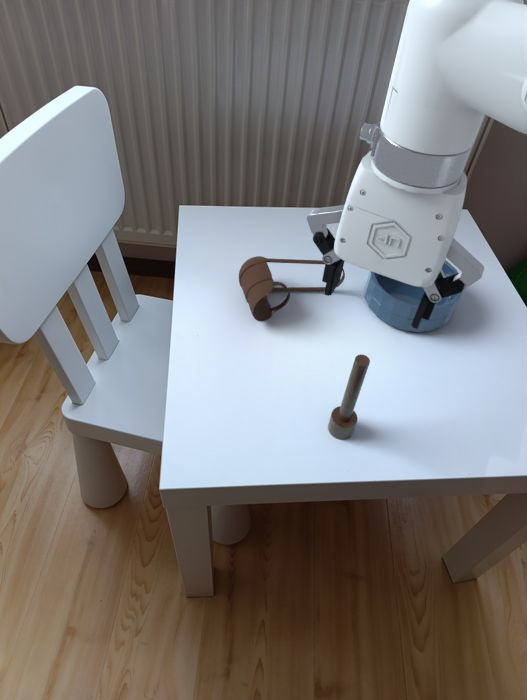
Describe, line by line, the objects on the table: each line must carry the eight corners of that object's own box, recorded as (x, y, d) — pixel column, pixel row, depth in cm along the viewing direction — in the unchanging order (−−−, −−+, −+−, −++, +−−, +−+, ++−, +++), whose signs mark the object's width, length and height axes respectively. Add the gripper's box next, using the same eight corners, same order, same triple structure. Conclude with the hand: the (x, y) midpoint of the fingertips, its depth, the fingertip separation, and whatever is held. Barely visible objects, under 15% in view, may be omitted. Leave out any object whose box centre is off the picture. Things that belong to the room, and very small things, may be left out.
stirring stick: (356, 424, 76) (381, 355, 65) (348, 443, 74) (372, 376, 62) (333, 414, 77) (353, 344, 65) (323, 432, 74) (343, 364, 63)
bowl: (459, 292, 96) (471, 266, 92) (439, 347, 87) (451, 321, 82) (379, 264, 100) (387, 237, 95) (351, 314, 91) (358, 287, 86)
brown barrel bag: (249, 328, 87) (251, 297, 81) (233, 281, 94) (235, 249, 89) (352, 314, 91) (361, 283, 85) (330, 269, 98) (336, 239, 93)
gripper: (306, 143, 44) (285, 296, 57) (519, 208, 40) (445, 357, 53) (338, 109, 49) (312, 257, 61) (532, 163, 44) (461, 310, 57)
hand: (373, 303), depth 57 cm, fingers open, 9 cm apart
